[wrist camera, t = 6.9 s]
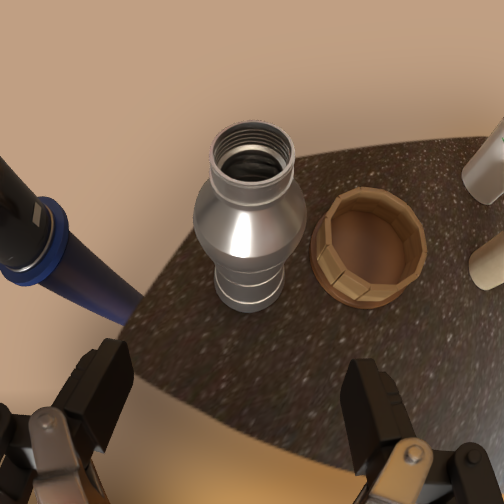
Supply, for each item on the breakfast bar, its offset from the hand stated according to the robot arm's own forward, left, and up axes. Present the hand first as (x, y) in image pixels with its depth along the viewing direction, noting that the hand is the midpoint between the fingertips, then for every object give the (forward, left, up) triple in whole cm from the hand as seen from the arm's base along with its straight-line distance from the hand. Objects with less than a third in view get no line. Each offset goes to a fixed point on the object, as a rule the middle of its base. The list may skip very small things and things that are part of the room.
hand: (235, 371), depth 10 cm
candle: (+30, +12, -19) cm, 37 cm away
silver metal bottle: (0, +9, -19) cm, 21 cm away
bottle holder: (+12, +13, -19) cm, 26 cm away
